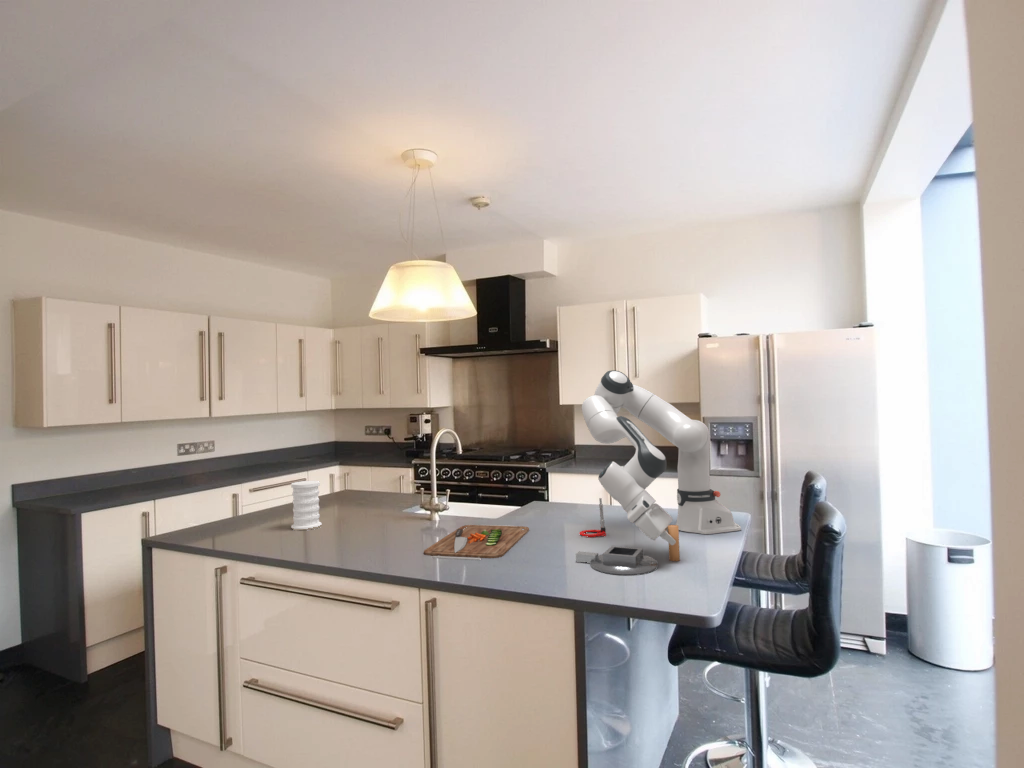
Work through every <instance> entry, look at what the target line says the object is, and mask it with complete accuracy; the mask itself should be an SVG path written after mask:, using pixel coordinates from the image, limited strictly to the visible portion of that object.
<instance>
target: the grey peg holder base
mask: <svg viewBox="0 0 1024 768" xmlns="http://www.w3.org/2000/svg"><path fill="white" fill-rule="evenodd" d="M576 561H577V562H576ZM575 562H576V563H580V562H587V563H586V564H590V567H591V568H592V569H593V570H594V571H597V572H600V573H602V572H603V573H604V574H609V575H616V576H638V575H637V574H640V575H645V574H644V573H646V574H648V572H649V573H652V572H654V571H656V570H657V569H658V561H657V560H656V559H655V558H654V557H651V556H649V555H645V554H644V548H643V547H639V548H638V547H628V546H615V545H611V546H610V547H609V548H608V549H607V550H605V551H604V552H603V554H599V552H590V551H578V552H576V553H575ZM656 568H657V569H656ZM655 569H656V570H655ZM651 571H652V572H651ZM603 573H602V574H603Z"/></svg>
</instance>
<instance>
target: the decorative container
mask: <svg viewBox="0 0 1024 768" xmlns="http://www.w3.org/2000/svg"><path fill="white" fill-rule="evenodd" d="M320 484H321V482H320V481H319V480H302V481H296V482H291V484H290V486H291V488H292V492H291V493H292V494H291V496H292V497H293V499H292V504H293V507H292V511H293V512H292V513H293V517H292V520H293V524H291V528H294V529H308V528H313V527H318V526H320V525H322V524H323V523H322V522H321V521H320V517H321V514H320V513H319V512H320V505H319V502H320V498H319V493H320V490H319V486H320ZM322 526H323V525H322Z"/></svg>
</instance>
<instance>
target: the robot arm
mask: <svg viewBox="0 0 1024 768" xmlns="http://www.w3.org/2000/svg"><path fill="white" fill-rule="evenodd" d="M621 408H622V409H625V411H627V412H628V413H629V414H630V415H633V416H634V417H635V418H636V419H638V420H639V421H641V422H643V423H644V424H645V425H646V426H648V427H650V428H652V429H653V430H655V431H656V433H659V434H660V435H661V436H662V437H663V438H664V439H666V440H667V441H668V442H670V443H671V444H672V445H673V446H676V447H677V449H678V458H677V459H678V460H677V490H676V494H677V495H676V502H677V504H678V505H677V516H676V523H675V525H678V528H679V531H681V532H686V533H695V534H702V535H712V534H721V533H729V532H737V531H741V530H742V526H741V525H739V524H738V523H736V522H735V520H734V516H733V513H732V511H731V510H730V509H729V508H727V507H726V506H725V505H724V504H723V503H721V502H719V501H718V500H717V499H716V498H720V497H721V493H720V491H719V490H718V491H717V490H713V489H711V479H710V478H711V477H710V475H711V474H710V460H711V459H710V457H711V456H710V455H711V454H710V449H711V448H710V446H711V445H710V444H711V443H710V440H711V439H710V438H711V437H710V435H711V434H710V430H709V428H708V426H707V425H706V424H705V423H704V422H702V421H701V420H698V419H691V418H690V417H689V416H687V415H685V413H683V412H681V410H679V409H677V408H676V407H675V406H674V405H672V404H671V403H669V402H667V401H666V400H664V399H662V398H661V397H660V396H658V395H656V394H655V393H653V392H651V391H649V390H647V389H646V388H644V387H642V386H639V385H637V384H634V383H633V382H632V381H631V380H630V378H629V377H628V376H627V374H625V373H623V372H622V371H619V370H617V369H615V370H614V369H613V370H607V371H606V372H605V373H604V374H603V376H602V377H601V379H600V381H599V383H598V385H597V387H596V389H595V391H594V395H590V396H588V397H587V398H586V399H584V401H583V402H582V404H581V411H582V412H581V413H582V416H583V420H584V422H585V424H586V425H585V426H586V427H587V430H589V433H590V435H591V436H592V437H593V439H594V440H595V441H597V442H599V444H600V443H601V444H609V445H610V444H615V443H617V442H619V441H621V440H622V439H625V438H627V440H628V441H629V442H630V443H631V445H632V446H633V447H634V448H635V453H634V455H633V456H632V457H631V458H630V460H629V461H628V462H626V464H625V465H619V464H618V463H617V462H615V461H610V462H609V463H607V464H606V466H605V467H604V468H603V469H602V471H601V472H600V473H599V475H598V482H599V483H600V485H601V486H602V487H603V489H604V490H605V491H606V492H607V493H608V495H609V496H610V497H611V498H612V499H613V500H615V501H616V502H617V503H619V505H620V506H621V507H622V509H623V510H624V511H625V512H626V514H627V520H628V521H629V522H630V523H631V524H634V525H635V526H636V527H637V528H638V530H640V531H641V532H642V533H643V534H644V535H645V536H646V537H648V538H649V539H650V540H652V541H656V540H657V539H658V538H659V537H660V538H661V539H663V540H664V541H666V542H668V545H669V544H670V545H674V544H675V543H676V539H675V538H674V537H672V536H670V535H669V534H668V525H671V523H672V522H673V520H674V519H673V517H672V516H671V515H670V514H669V513H668V512H667V511H666V510H665V509H664V508H663V507H662V506H660V505H659V504H658V503H656V502H657V501H656V499H655V498H654V497H653V496H652V495H651V494H650V493H649V492H648V491H647V490H646V489H648V487H649V486H650V485H651V484H652V483H654V481H655V480H656V479H657V478H658V477H660V476H661V475H662V474H664V473H665V472H666V471H667V457H666V456H665V454H664V453H663V452H662V451H661V450H660V449H659V448H658V447H656V445H654V444H653V443H652V442H651V441H650V440H649V438H648V437H647V436H646V435H645V434H644V433H643V432H642V431H641V429H640V428H639V427H638V426H637V425H636V424H635V423H634V422H633V421H631V420H630V419H629V418H627V417H625V416H623V415H619V416H618V413H619V412H620V410H621Z"/></svg>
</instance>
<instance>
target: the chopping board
mask: <svg viewBox="0 0 1024 768" xmlns="http://www.w3.org/2000/svg"><path fill="white" fill-rule="evenodd" d="M466 527H467V528H466ZM464 528H465V529H464ZM463 529H464V530H463ZM522 529H524V530H522ZM529 531H530V527H528V526H522V525H521V526H519V525H508V524H507V525H505V524H504V525H503V524H502V525H500V524H467V525H466V524H465V525H462V526H459V527H458V528H457V529H455V530H454V531H452V532H450V533H449V534H447V535H446V536H445V537H443V538H442V539H439V540H437V541H436V542H435V543H434V544H432V545H430V546H429V547H426V549H424V550H423V555H425V556H430V557H431V556H432V559H448V560H449V559H450V560H451V559H452V560H465V561H466V560H469V561H470V560H471V561H482V559H497V558H502V557H504V556H505V555H506V554H507V553H508V552H509V551H510V550H511V549H512V548H513V547H514V546H515V545H516V544H517V543H518V542H519V541H520V540H522V538H523V537H525V536H526V535H527V534H528V533H529Z"/></svg>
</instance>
